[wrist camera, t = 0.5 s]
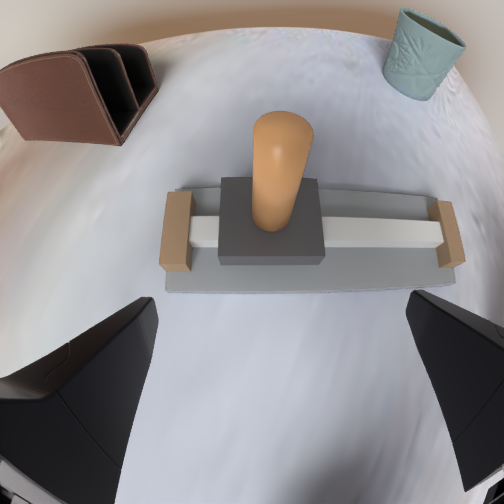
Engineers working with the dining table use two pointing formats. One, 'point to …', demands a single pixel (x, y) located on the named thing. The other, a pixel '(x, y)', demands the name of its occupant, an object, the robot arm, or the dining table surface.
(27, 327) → the dining table surface
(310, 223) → the carriage
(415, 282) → the rail
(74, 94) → the letter holder
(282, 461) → the dining table surface
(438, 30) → the green planter pot
